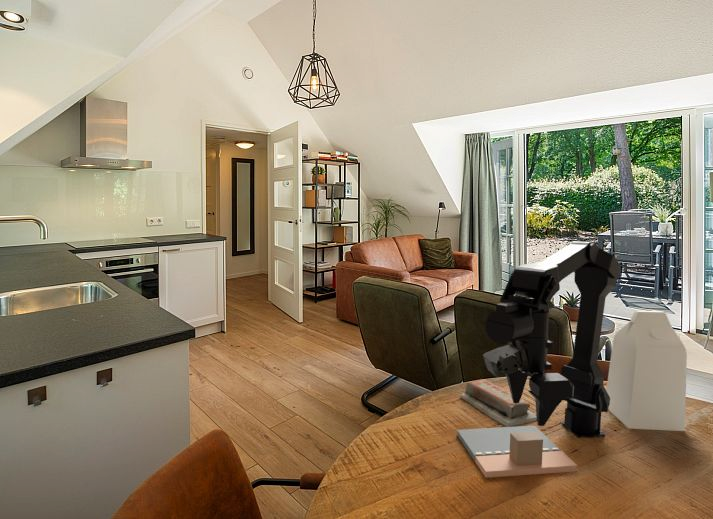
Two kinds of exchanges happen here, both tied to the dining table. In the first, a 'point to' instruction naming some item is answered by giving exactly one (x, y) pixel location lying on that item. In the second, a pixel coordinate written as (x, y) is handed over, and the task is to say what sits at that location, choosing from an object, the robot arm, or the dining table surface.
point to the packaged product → (497, 403)
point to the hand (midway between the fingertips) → (527, 413)
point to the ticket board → (497, 440)
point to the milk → (648, 374)
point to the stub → (525, 458)
